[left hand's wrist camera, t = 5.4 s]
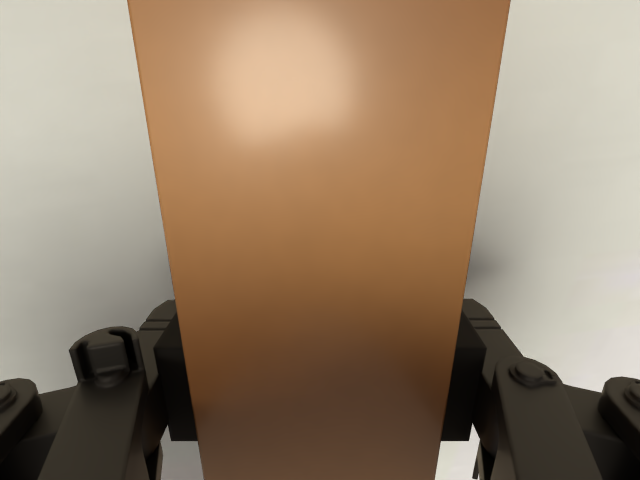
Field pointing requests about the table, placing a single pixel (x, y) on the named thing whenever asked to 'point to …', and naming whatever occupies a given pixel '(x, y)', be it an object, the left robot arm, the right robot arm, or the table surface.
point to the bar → (319, 220)
